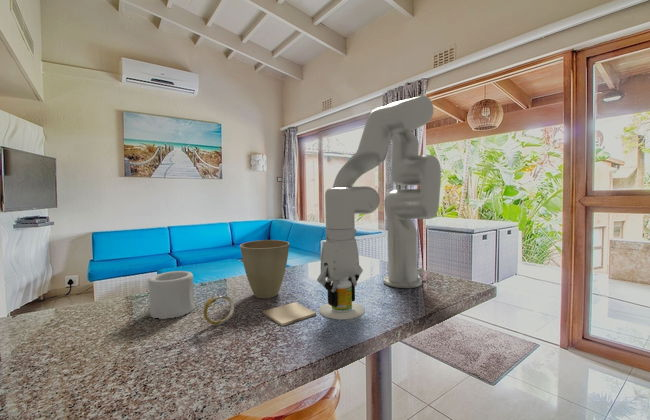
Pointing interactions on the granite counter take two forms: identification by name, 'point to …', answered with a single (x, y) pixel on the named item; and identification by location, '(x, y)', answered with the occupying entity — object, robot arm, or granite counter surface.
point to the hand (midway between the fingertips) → (341, 302)
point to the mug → (171, 294)
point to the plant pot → (265, 265)
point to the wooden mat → (289, 313)
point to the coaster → (329, 313)
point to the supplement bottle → (343, 295)
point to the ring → (209, 301)
